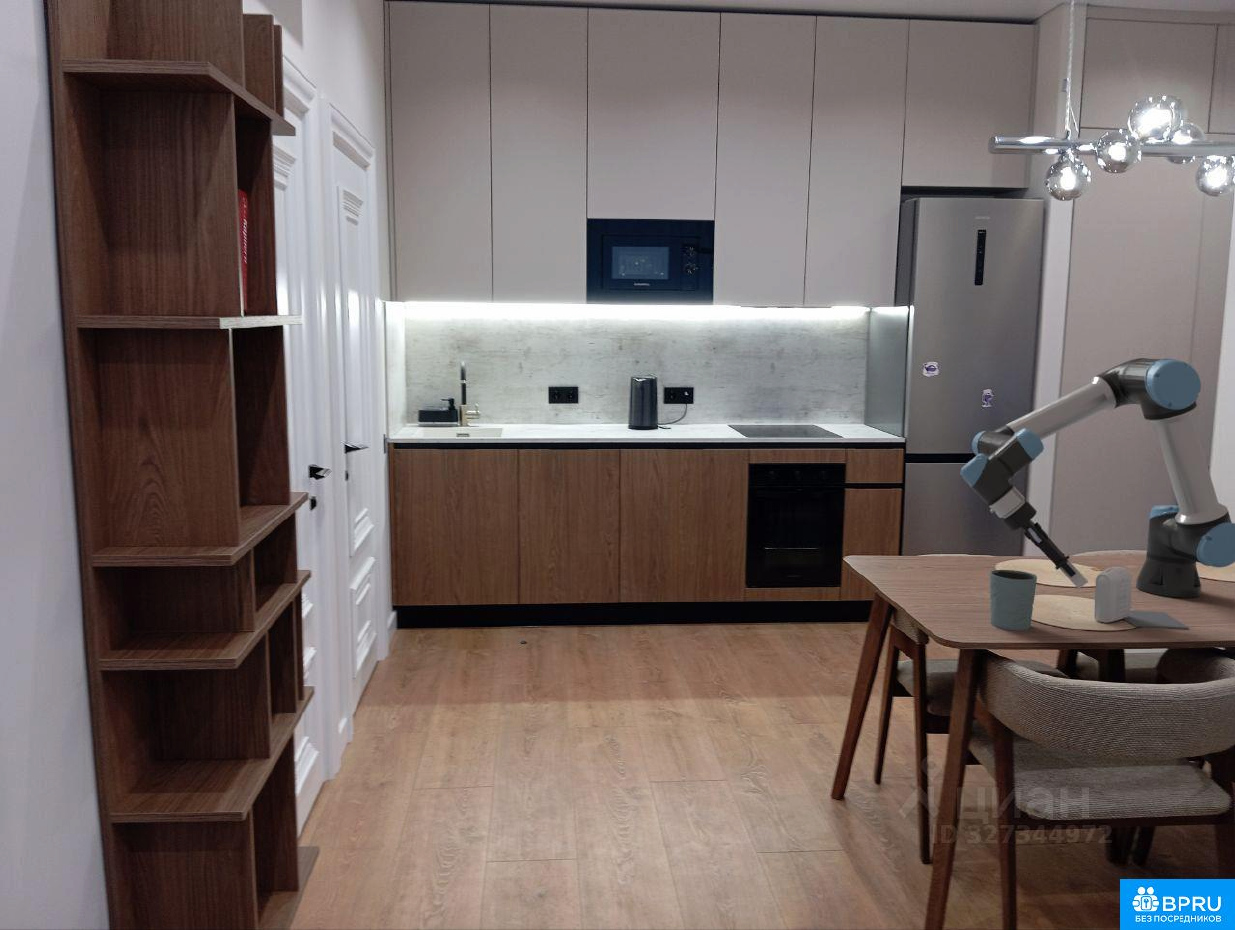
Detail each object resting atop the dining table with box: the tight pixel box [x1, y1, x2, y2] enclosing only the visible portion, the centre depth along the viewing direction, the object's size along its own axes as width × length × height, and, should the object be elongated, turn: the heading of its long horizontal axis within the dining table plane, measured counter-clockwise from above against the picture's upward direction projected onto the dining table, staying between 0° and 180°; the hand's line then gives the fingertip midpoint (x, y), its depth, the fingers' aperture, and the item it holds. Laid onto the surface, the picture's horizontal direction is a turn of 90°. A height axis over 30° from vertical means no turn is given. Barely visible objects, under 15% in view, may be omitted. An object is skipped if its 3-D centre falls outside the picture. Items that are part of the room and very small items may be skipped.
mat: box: [1123, 610, 1190, 630], centre depth 233 cm, size 12×13×1 cm
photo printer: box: [1093, 566, 1133, 623], centre depth 231 cm, size 10×4×12 cm, turn 123°
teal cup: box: [989, 569, 1038, 632], centre depth 225 cm, size 10×10×12 cm
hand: (1083, 584), depth 233 cm, fingers closed
